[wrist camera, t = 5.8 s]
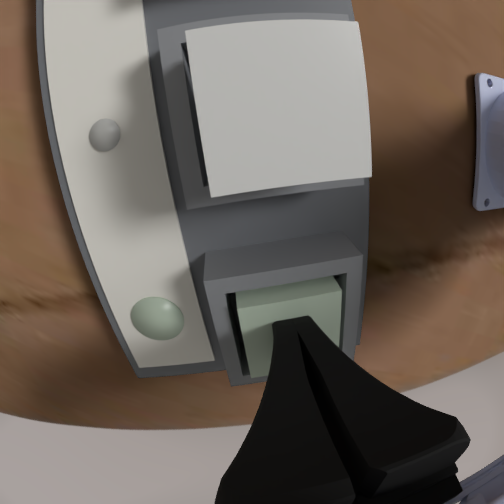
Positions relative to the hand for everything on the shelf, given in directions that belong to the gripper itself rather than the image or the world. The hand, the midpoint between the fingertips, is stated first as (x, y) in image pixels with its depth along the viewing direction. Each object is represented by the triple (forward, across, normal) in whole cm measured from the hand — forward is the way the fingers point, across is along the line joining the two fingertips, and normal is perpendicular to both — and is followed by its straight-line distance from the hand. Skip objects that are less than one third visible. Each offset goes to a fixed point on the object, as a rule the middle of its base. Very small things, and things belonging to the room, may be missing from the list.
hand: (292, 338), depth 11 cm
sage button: (+2, 0, 0) cm, 2 cm away
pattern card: (+3, +6, -8) cm, 10 cm away
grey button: (0, 0, -8) cm, 8 cm away
